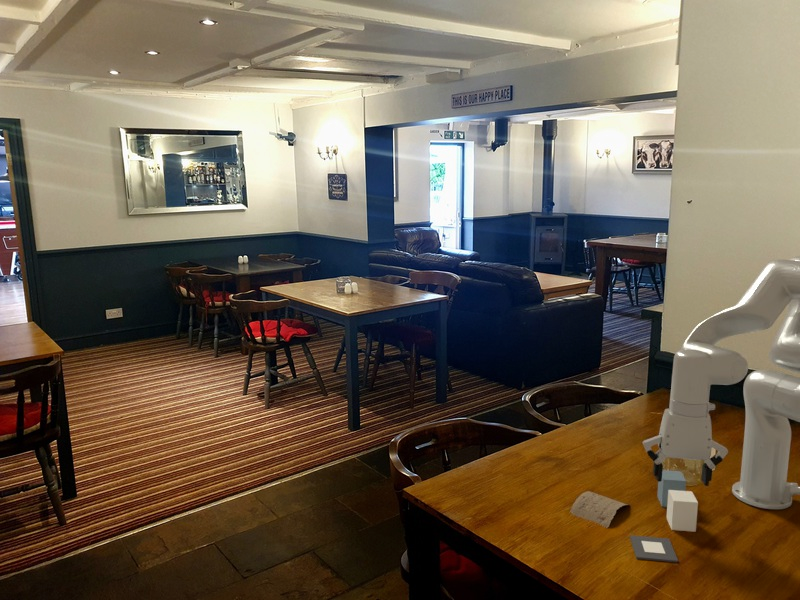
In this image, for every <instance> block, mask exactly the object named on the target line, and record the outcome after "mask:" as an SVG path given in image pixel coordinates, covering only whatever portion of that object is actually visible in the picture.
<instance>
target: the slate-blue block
mask: <svg viewBox="0 0 800 600" xmlns="http://www.w3.org/2000/svg"><path fill="white" fill-rule="evenodd" d="M686 489H687V480H686V478H685V477H684V474H683V473H682V471H680V470H668V469H667V470H665V469H663V471H662V481H661V482H658V481H657V495H656V496H657V499H658V502H659V501H660V502H659V504H660V506H661V507H662V508H667V503H668V490H678V491H687V490H686Z"/></svg>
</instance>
